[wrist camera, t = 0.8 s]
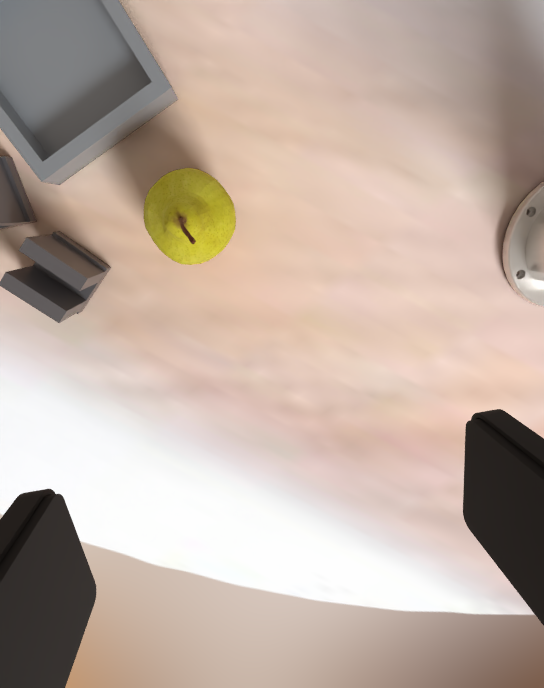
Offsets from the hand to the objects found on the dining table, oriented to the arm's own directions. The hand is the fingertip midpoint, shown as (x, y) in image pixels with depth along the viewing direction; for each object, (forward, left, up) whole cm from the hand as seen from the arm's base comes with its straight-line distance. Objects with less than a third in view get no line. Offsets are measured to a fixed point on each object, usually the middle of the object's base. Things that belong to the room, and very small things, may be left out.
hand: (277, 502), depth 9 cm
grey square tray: (+3, -22, -28) cm, 36 cm away
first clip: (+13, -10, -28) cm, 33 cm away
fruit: (+1, -8, -29) cm, 30 cm away
